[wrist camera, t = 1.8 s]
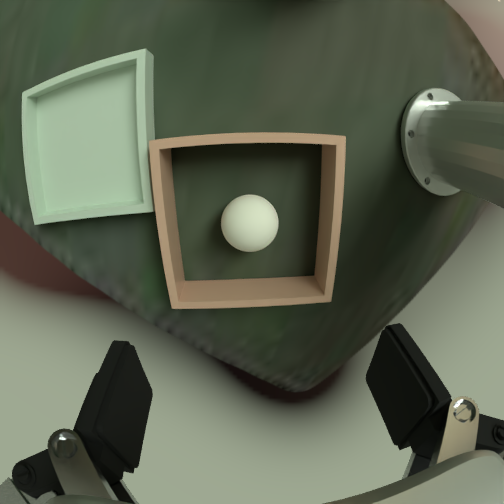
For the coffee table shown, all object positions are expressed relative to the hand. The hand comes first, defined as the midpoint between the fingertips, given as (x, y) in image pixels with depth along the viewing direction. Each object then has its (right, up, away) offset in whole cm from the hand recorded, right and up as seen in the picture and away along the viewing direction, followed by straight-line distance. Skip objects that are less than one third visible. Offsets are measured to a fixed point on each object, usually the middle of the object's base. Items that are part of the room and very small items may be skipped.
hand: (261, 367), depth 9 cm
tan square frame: (-1, +8, +17) cm, 19 cm away
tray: (-17, +15, +12) cm, 26 cm away
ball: (-1, +7, +15) cm, 16 cm away
